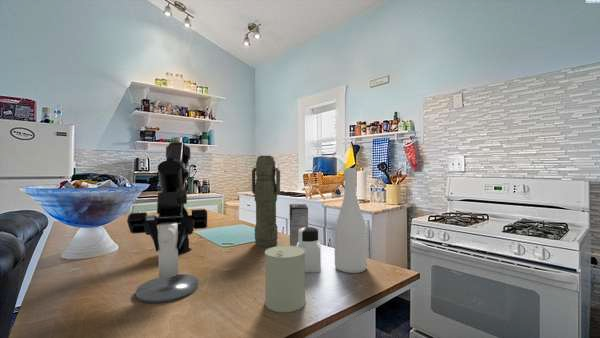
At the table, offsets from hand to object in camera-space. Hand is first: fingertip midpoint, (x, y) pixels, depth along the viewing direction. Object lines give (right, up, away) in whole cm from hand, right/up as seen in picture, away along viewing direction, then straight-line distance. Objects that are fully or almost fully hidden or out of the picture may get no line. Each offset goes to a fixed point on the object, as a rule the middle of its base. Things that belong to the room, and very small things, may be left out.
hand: (167, 249), depth 69 cm
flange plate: (0, -10, +1) cm, 10 cm away
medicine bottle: (+35, -10, +16) cm, 40 cm away
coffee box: (+32, -10, +36) cm, 49 cm away
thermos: (+19, -10, +42) cm, 47 cm away
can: (+29, -10, -6) cm, 31 cm away
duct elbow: (0, -7, 0) cm, 7 cm away
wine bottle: (+48, -10, +15) cm, 51 cm away
